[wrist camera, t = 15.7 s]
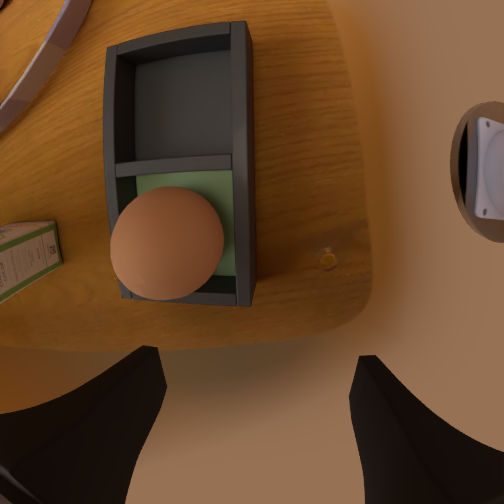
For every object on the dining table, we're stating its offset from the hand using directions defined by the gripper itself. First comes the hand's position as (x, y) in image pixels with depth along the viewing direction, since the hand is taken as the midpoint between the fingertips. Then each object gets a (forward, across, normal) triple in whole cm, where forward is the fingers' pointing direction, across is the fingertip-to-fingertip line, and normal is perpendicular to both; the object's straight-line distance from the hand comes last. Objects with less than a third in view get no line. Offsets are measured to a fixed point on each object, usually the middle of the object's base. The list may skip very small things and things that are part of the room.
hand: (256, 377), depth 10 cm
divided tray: (+9, +5, -7) cm, 13 cm away
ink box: (+10, +20, -2) cm, 22 cm away
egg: (+9, +5, -3) cm, 11 cm away
